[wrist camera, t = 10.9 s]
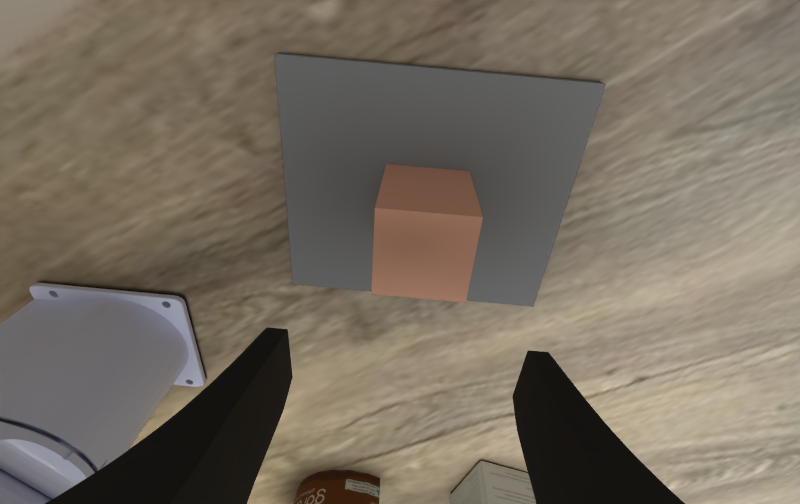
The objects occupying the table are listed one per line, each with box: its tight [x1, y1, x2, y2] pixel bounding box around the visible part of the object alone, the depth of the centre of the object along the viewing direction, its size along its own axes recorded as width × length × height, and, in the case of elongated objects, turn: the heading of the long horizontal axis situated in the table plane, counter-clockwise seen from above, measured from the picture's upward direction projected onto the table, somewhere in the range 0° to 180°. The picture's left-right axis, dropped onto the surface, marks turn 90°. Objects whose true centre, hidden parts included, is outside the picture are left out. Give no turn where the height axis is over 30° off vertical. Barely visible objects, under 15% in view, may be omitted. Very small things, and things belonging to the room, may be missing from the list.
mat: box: [274, 53, 606, 307], centre depth 20 cm, size 14×12×1 cm
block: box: [371, 164, 483, 303], centre depth 18 cm, size 4×4×5 cm
